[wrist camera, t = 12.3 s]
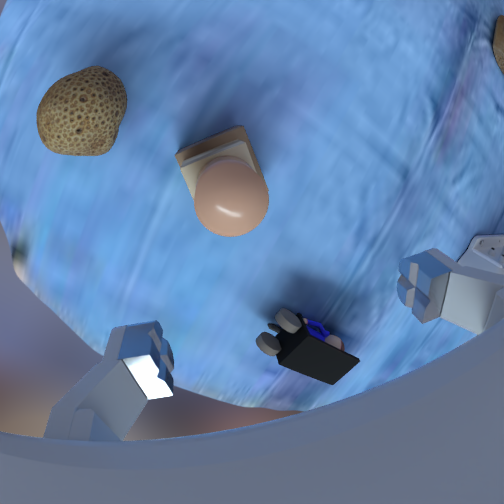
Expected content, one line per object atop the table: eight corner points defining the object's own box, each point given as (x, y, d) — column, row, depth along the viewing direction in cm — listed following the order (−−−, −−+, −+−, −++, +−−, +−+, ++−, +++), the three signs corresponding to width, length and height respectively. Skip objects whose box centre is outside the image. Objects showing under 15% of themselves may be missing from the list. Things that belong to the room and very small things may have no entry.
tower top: (237, 139, 27) (245, 142, 22) (256, 190, 29) (267, 204, 25) (183, 160, 26) (179, 168, 22) (204, 211, 29) (206, 228, 25)
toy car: (249, 324, 44) (321, 359, 48) (253, 357, 37) (334, 390, 41) (276, 290, 42) (347, 332, 46) (286, 321, 35) (364, 361, 39)
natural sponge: (92, 61, 24) (55, 43, 15) (152, 94, 27) (133, 83, 18) (53, 130, 26) (7, 137, 17) (110, 163, 30) (77, 181, 21)
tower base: (236, 125, 31) (243, 125, 26) (259, 181, 34) (268, 190, 29) (178, 150, 31) (174, 155, 26) (203, 204, 34) (204, 218, 29)
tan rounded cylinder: (251, 150, 22) (262, 158, 18) (260, 207, 24) (273, 228, 20) (190, 162, 22) (186, 173, 18) (203, 218, 24) (203, 243, 20)
